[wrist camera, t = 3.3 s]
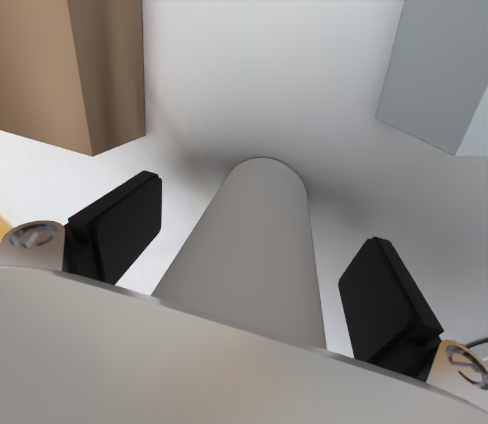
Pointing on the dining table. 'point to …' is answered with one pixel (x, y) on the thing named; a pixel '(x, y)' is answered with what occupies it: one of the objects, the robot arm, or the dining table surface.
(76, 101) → the walnut block
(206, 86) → the dining table surface
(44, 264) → the robot arm
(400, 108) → the grey-blue block
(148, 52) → the dining table surface
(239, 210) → the beverage can
